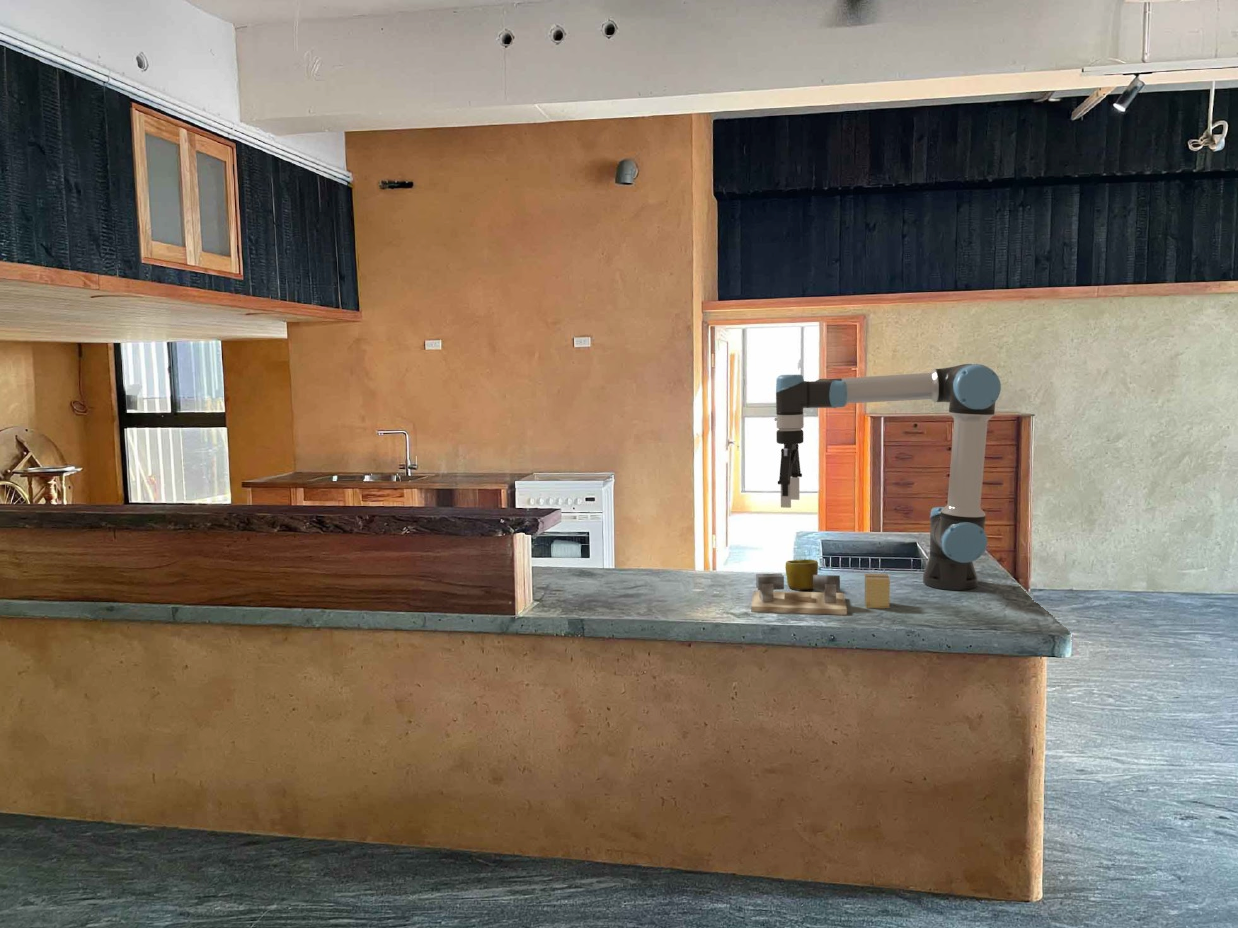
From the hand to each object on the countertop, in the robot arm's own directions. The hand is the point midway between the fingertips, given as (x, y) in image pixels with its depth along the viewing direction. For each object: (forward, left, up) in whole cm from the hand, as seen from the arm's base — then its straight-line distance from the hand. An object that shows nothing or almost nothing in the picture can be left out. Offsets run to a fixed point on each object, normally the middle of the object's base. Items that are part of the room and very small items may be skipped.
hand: (790, 503), depth 256 cm
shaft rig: (-2, +12, -26) cm, 29 cm away
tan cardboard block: (-23, +10, -26) cm, 36 cm away
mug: (-3, -8, -26) cm, 28 cm away
